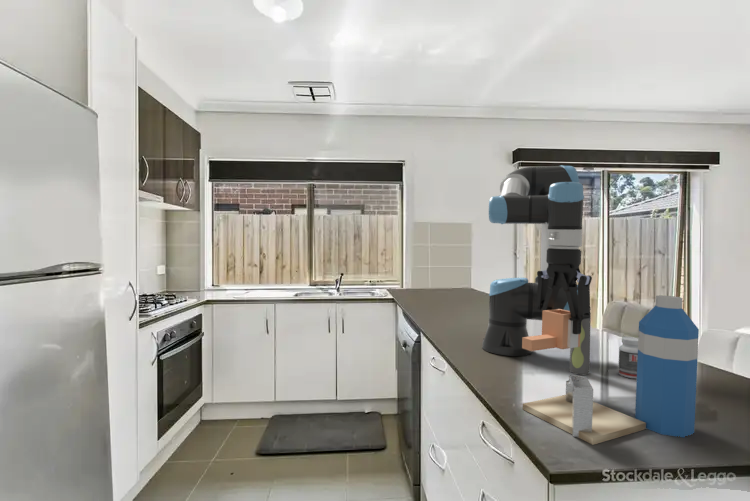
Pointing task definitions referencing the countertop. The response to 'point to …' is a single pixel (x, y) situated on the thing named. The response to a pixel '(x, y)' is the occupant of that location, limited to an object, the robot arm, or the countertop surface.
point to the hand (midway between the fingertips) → (560, 343)
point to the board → (603, 419)
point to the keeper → (581, 405)
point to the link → (550, 332)
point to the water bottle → (667, 369)
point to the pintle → (569, 392)
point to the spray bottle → (581, 351)
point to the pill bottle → (628, 357)
